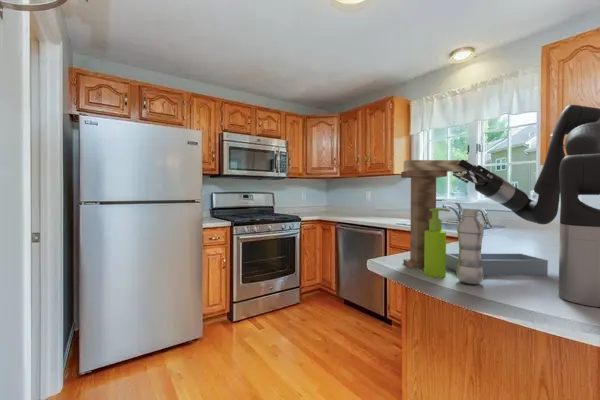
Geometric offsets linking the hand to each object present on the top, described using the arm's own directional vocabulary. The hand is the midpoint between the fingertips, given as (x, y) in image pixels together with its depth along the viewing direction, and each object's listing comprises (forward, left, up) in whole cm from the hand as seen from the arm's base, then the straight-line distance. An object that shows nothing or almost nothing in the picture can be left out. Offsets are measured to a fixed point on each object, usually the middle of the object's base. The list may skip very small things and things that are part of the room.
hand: (453, 163), depth 99 cm
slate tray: (-12, -1, -35) cm, 37 cm away
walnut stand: (+8, +6, -35) cm, 36 cm away
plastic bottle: (-7, +19, -35) cm, 40 cm away
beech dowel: (+5, +3, -3) cm, 7 cm away
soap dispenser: (+2, +15, -35) cm, 38 cm away
